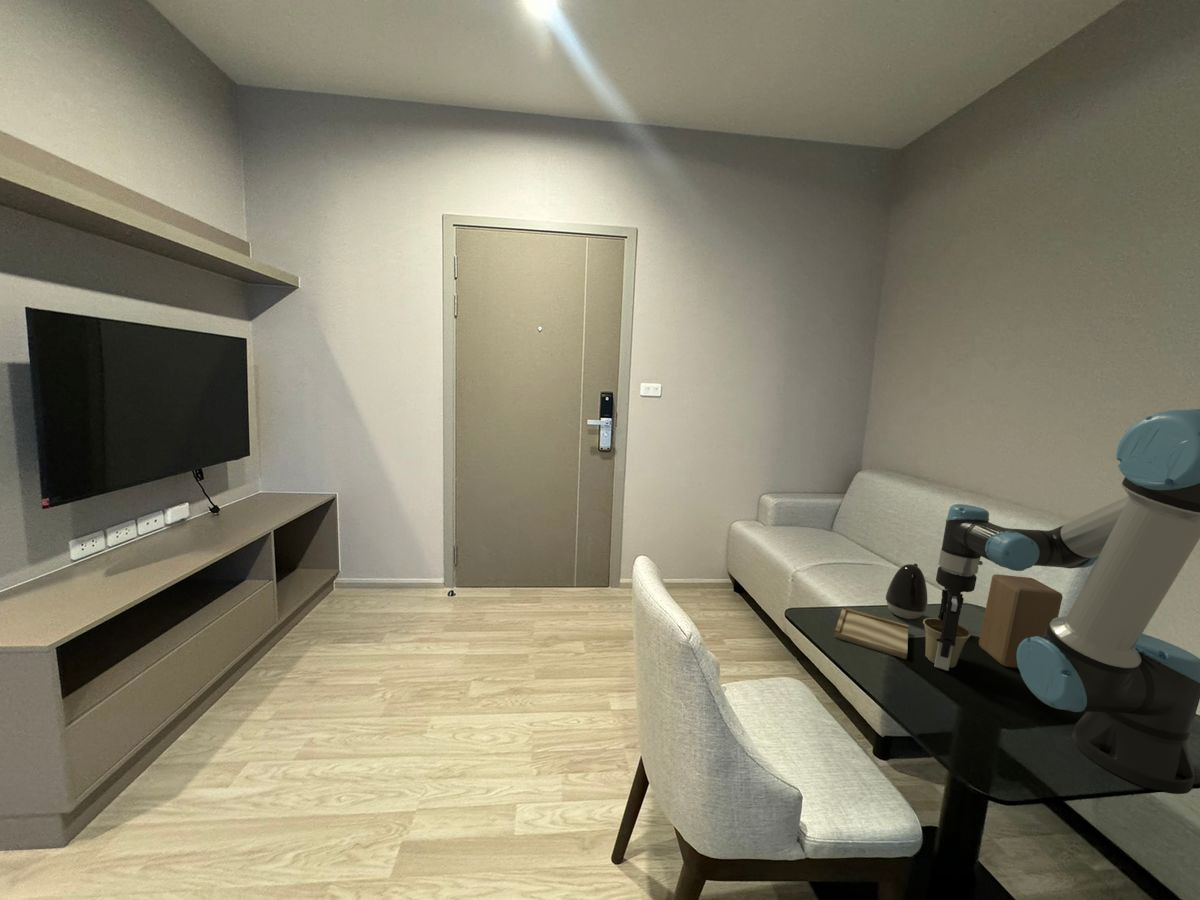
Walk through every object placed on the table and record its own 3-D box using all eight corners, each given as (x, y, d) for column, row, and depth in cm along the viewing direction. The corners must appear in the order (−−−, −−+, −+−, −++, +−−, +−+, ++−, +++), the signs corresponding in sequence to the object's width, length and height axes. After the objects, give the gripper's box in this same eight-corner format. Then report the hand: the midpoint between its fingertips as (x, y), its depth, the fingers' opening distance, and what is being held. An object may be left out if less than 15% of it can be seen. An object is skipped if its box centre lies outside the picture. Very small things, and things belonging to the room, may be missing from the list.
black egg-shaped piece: (928, 616, 144) (937, 566, 142) (920, 627, 137) (929, 575, 134) (889, 603, 151) (897, 555, 149) (879, 613, 144) (887, 563, 141)
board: (906, 659, 120) (907, 651, 120) (834, 637, 128) (835, 629, 128) (907, 632, 133) (908, 625, 133) (841, 614, 142) (842, 607, 141)
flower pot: (916, 645, 127) (922, 613, 126) (961, 658, 122) (967, 625, 121) (918, 662, 119) (924, 629, 117) (966, 677, 114) (973, 642, 113)
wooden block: (1017, 650, 128) (1033, 576, 125) (1047, 673, 118) (1065, 593, 115) (976, 645, 129) (990, 572, 126) (1002, 668, 119) (1019, 589, 116)
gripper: (982, 589, 106) (962, 686, 110) (972, 561, 124) (956, 646, 127) (940, 580, 110) (922, 674, 114) (936, 554, 128) (921, 636, 131)
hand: (940, 659), depth 120 cm, fingers closed on flower pot, 8 cm apart
